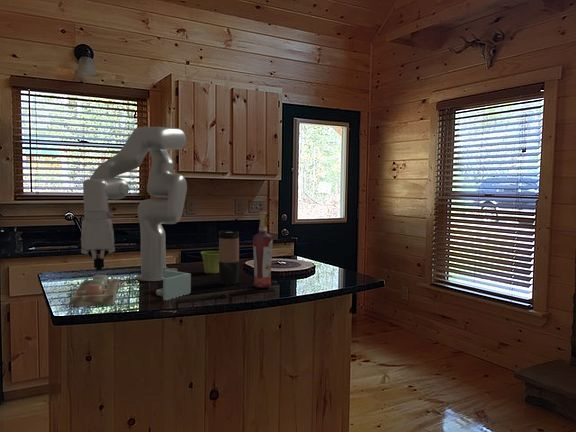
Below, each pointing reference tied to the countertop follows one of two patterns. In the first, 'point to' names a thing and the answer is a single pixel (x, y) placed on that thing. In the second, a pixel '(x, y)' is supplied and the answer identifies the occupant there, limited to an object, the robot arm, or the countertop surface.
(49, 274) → the countertop surface
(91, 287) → the brown egg
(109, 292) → the wooden rectangular frame
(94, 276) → the beige egg
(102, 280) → the pale green egg
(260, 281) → the liquor
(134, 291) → the countertop surface
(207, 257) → the plant pot
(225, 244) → the travel mug
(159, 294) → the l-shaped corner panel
